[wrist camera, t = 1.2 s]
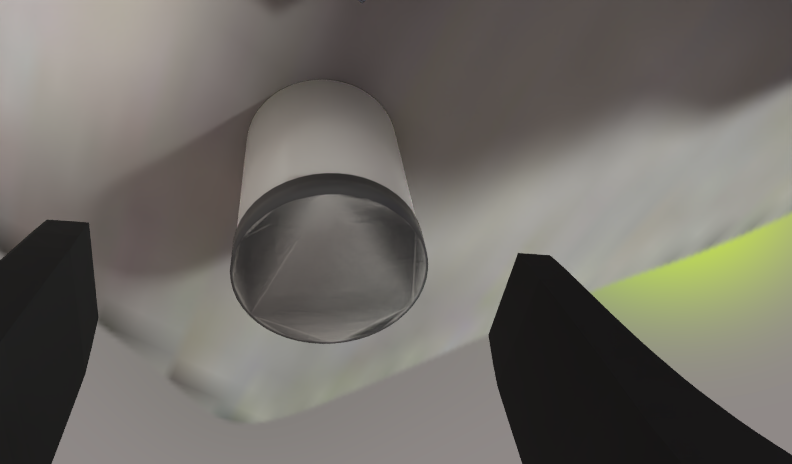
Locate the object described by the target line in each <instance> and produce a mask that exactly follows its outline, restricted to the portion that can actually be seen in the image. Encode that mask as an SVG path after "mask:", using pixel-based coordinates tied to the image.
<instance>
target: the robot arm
mask: <svg viewBox="0 0 792 464" xmlns="http://www.w3.org/2000/svg"><path fill="white" fill-rule="evenodd" d="M97 321H98V310H97V300H96V290H95V280H94V270H93V260H92V250H91V239H90V229H89V223H86V222H72V221H58V220H46V221H45V222H44V223H42V224H41V225H40V226H39V227H38V228H36V229H35V230H34V231H33V232H32V233H31V234H29V235H28V236H27V237H26V238H25V239H24V240H23V241H21V242H20V243H19V244H18V245H17V246H16V247H15V248H14V249H12V250H11V251H10V252H9V253H8V254H7V255H6V256H5V257H3V258H2V259H1V260H0V464H51V463H52V461H53V458H54V456H55V452H56V450H57V448H58V445H59V442H60V440H61V437H62V434H63V432H64V429H65V426H66V424H67V421H68V419H69V416H70V413H71V410H72V408H73V405H74V403H75V400H76V397H77V395H78V392H79V389H80V387H81V384H82V381H83V378H84V376H85V372H86V368H87V364H88V360H89V356H90V352H91V348H92V343H93V339H94V334H95V330H96V326H97ZM489 340H490V347H491V353H492V359H493V365H494V370H495V376H496V381H497V386H498V389H499V392H500V396H501V399H502V402H503V405H504V408H505V412H506V415H507V418H508V421H509V424H510V427H511V430H512V433H513V436H514V439H515V442H516V445H517V449H518V452H519V455H520V458H521V461H522V464H792V455H791V454H789V453H788V452H786V451H785V450H783V449H782V448H780V447H778V446H777V445H775V444H773V443H772V442H771V441H769V440H768V439H766V438H765V437H763V436H761V435H760V434H758V433H757V432H755V431H754V430H752V429H751V428H749V427H748V426H747V425H745V424H744V423H742V422H741V421H739V420H738V419H737V418H735V417H734V416H732V415H731V414H730V413H728V412H727V411H726V410H724V409H723V408H722V407H720V406H719V405H718V404H716V403H715V402H714V401H712V400H711V399H710V398H708V397H707V396H705V395H704V394H703V393H702V392H700V391H699V390H698V389H696V388H695V387H694V386H693V385H691V384H690V383H689V382H688V381H686V380H685V379H684V378H683V377H681V376H680V375H679V374H678V373H677V372H676V371H674V370H673V369H672V368H671V367H670V366H668V365H667V364H666V363H665V362H664V361H663V360H661V359H660V358H659V357H658V356H657V355H656V354H655V353H653V352H652V351H651V350H650V349H649V348H648V347H647V346H646V345H644V344H643V343H642V342H641V341H640V340H639V339H638V338H637V337H636V336H634V335H633V334H632V333H631V332H630V331H629V330H628V329H627V328H626V327H625V326H624V325H623V324H622V323H621V322H620V321H619V320H617V319H616V318H615V317H614V316H613V315H612V314H611V313H610V312H609V311H608V310H607V309H606V308H605V307H604V306H603V305H602V304H601V303H600V302H599V301H598V300H597V299H596V298H595V297H593V295H592V294H591V293H590V292H588V291H587V290H586V289H585V288H584V287H583V286H582V285H581V284H580V283H579V282H578V281H577V280H576V279H575V278H574V277H573V276H572V275H571V274H570V273H569V272H568V271H567V270H566V269H565V268H564V267H562V266H561V265H560V264H559V263H558V262H557V261H556V260H555V259H553V258H552V257H551V256H550V255H537V254H523V253H518V255H517V258H516V260H515V263H514V266H513V269H512V271H511V274H510V277H509V280H508V282H507V285H506V288H505V291H504V294H503V296H502V299H501V302H500V305H499V307H498V310H497V313H496V316H495V318H494V321H493V324H492V327H491V329H490V332H489Z"/></svg>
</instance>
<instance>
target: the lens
mask: <svg viewBox="0 0 792 464" xmlns="http://www.w3.org/2000/svg"><path fill="white" fill-rule="evenodd" d="M427 271H428V258H427V252H426V248H425V244H424V240H423V236H422V232H421V228H420V225H419V223H418V220H417V218H416V216H415V212H414V208H413V204H412V200H411V196H410V192H409V187H408V183H407V179H406V175H405V171H404V167H403V163H402V159H401V155H400V151H399V147H398V143H397V139H396V135H395V131H394V127H393V125H392V122H391V120H390V118H389V116H388V114H387V112H386V111H385V110H384V108H383V107H382V106H381V105H380V104H379V103H378V102H377V101H376V100H375V99H374V98H373V97H372V96H370V95H369V94H368V93H366V92H365V91H363V90H361V89H360V88H357V87H355V86H353V85H350V84H347V83H344V82H340V81H334V80H321V79H319V80H308V81H304V82H299V83H296V84H293V85H290V86H288V87H286V88H284V89H282V90H280V91H278V92H277V93H275V94H274V95H272V96H271V97H270V98H269V99H268V100H267V101H265V102H264V103H263V105H262V106H261V107H260V108H259V109H258V111H257V112H256V114H255V116H254V117H253V119H252V122H251V124H250V126H249V130H248V134H247V142H246V151H245V160H244V169H243V178H242V187H241V196H240V205H239V214H238V223H237V229H236V232H235V236H234V240H233V248H232V257H231V266H230V277H231V283H232V287H233V291H234V293H235V295H236V298H237V300H238V301H239V303H240V304H241V306H242V308H243V309H244V310H245V311H246V312H247V313H248V314H249V316H250V317H252V318H253V319H254V320H255V321H256V322H257V323H259V324H260V325H262V326H263V327H265V328H266V329H268V330H270V331H272V332H274V333H276V334H278V335H281V336H283V337H286V338H289V339H293V340H297V341H302V342H308V343H319V344H330V343H342V342H348V341H353V340H358V339H361V338H364V337H367V336H370V335H372V334H375V333H377V332H379V331H381V330H383V329H385V328H387V327H388V326H390V325H391V324H393V323H394V322H396V321H397V320H399V319H400V318H401V317H402V316H403V315H404V314H405V313H407V311H408V310H409V309H410V308H411V307H412V306H413V305H414V303H415V302H416V300H417V299H418V297H419V296H420V294H421V292H422V290H423V287H424V284H425V281H426V278H427Z"/></svg>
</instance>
